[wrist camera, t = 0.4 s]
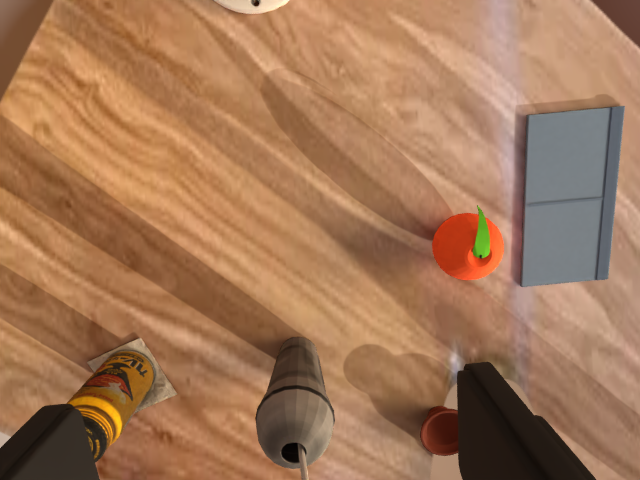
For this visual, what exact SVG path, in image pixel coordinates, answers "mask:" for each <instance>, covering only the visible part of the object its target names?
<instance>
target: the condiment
mask: <svg viewBox="0 0 640 480" xmlns="http://www.w3.org/2000/svg"><path fill="white" fill-rule="evenodd" d="M87 363H88V365H89V366H90V368H91V369H92V370H93V372H94V374H93V375H92V376H91V377H90V378H89V379H88V380H87V381H86V383H85V384H84V385H83V386H82V387H81V389H79V390H78V392H77V393H76V394H75V395H74V396H73V397H72V398H71V399H70V400H69V401H68V402H67V403H66V404H72V405H73V406H74V407H75V409H78V410H79V411H80V412H81V414H82V417H83V421H84V425H85V428H86V432H87V435H88V439H89V443H90V446H91V450H92V454H93V457H94V461H95V462H97V461H98V460H99V459H100V458H101V457H102V455H103V454H104V452H105V450H106V449H107V448H108V447H109V446H110V445H111V444H112V443H113V442H115V441H116V440H117V439H118V437H119V436H120V435H121V433H122V432H123V430H124V428H125V427H126V425H127V424H128V422H129V421H130V419H131V417H132V416H133V414H134V413H136V412H138V411H141V410H143V409H145V408H147V407H149V406H151V405H154V404H155V403H158V402H161V401H163V400H165V399H167V398H170V397H172V396H175V395H177V393H176V391H175V390H174V388H173V387H172V385H171V383H170V382H169V381H168V379H167V377H166V376H165V375H164V373H163V371H162V370H161V368H160V366H159V364H158V363H157V361H156V360H155V358H154V357H153V355H152V354H151V352H150V350H149V349H148V348H147V346H146V344H145V343H144V342H143V340H142V339H141V338H138V339H136V340H134V341H132V342H129V343H127V344H125V345H123V346H120V347H118V348H116V349H114V350H112V351H110V352H107V353H105V354H103V355H101V356H99V357H97V358H95V359H93V360H91V361H88V362H87Z"/></svg>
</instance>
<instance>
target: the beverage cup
mask: <svg viewBox="0 0 640 480" xmlns="http://www.w3.org/2000/svg"><path fill="white" fill-rule="evenodd" d="M255 419H256V428H257V434H258V441H259V443H260V445H261V447H262V449H263V451H264V453H265V454H266V455H267V457H269V458H270V459H271V460H272V461H273V462H274V463H276V464H278V465H280V466H282V467H284V468H291V469H296V468H300V469H301V477H302V480H309V479H308V472H307V466H308V465H310V464H312V463H313V462H315V461H316V460H317V459H319V458H320V457H321V456H322V454H323V453H324V451H325V450H326V449H327V447H328V445H329V443H330V439H331V436H332V432H333V426H334V422H335V418H334V410H333V408H332V406H331V404H330V401H329V399H328V397H327V395H326V390H325V385H324V380H323V376H322V371H321V366H320V361H319V356H318V354H317V349H316V347H315V345H314V344H313V343H312V342H311V341H310V340H308V339H306V338H302V337H294V338H291V339H289V340H287V341H286V342H285V343H283V345H282V347H281V349H280V352H279V354H278V356H277V360H276V363H275V366H274V370H273V373H272V376H271V379H270V383H269V386H268V389H267V392H266V394H265V396H264V397H263V399H262V401H261V403H260V405H259V406H258V409H257V413H256V418H255Z"/></svg>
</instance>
